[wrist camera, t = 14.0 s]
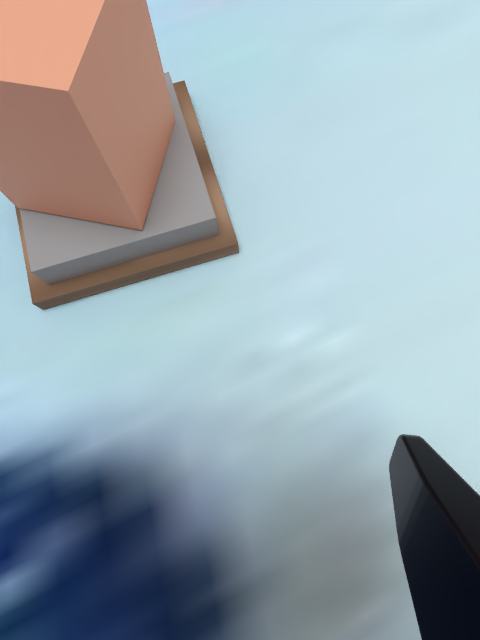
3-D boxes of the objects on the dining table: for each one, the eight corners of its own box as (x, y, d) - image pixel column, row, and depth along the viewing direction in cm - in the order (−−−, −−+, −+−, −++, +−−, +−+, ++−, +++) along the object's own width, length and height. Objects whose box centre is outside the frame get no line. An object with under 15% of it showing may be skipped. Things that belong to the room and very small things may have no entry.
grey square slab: (218, 234, 24) (215, 217, 22) (49, 284, 23) (31, 271, 21) (174, 98, 26) (168, 72, 24) (21, 141, 26) (2, 118, 24)
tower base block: (239, 257, 26) (238, 243, 24) (49, 313, 25) (32, 303, 23) (189, 104, 29) (184, 80, 27) (19, 151, 28) (1, 130, 26)
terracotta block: (142, 230, 22) (68, 90, 13) (17, 207, 22) (-133, 60, 14) (175, 121, 23) (130, -64, 15) (59, 103, 24) (-49, -85, 15)
